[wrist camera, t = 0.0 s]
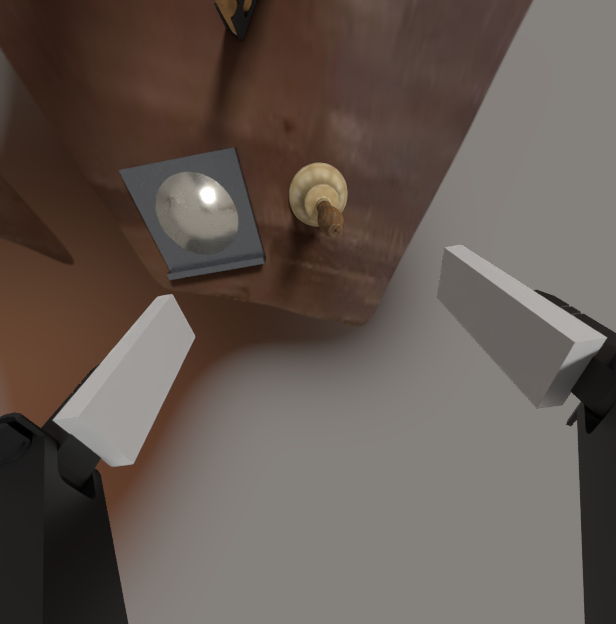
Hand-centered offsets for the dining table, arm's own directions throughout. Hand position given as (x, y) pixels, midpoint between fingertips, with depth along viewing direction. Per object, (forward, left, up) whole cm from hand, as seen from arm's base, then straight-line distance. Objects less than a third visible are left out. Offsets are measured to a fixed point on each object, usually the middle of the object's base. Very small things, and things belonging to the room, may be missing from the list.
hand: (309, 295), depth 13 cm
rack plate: (+1, -14, -28) cm, 31 cm away
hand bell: (+1, +3, -28) cm, 28 cm away
